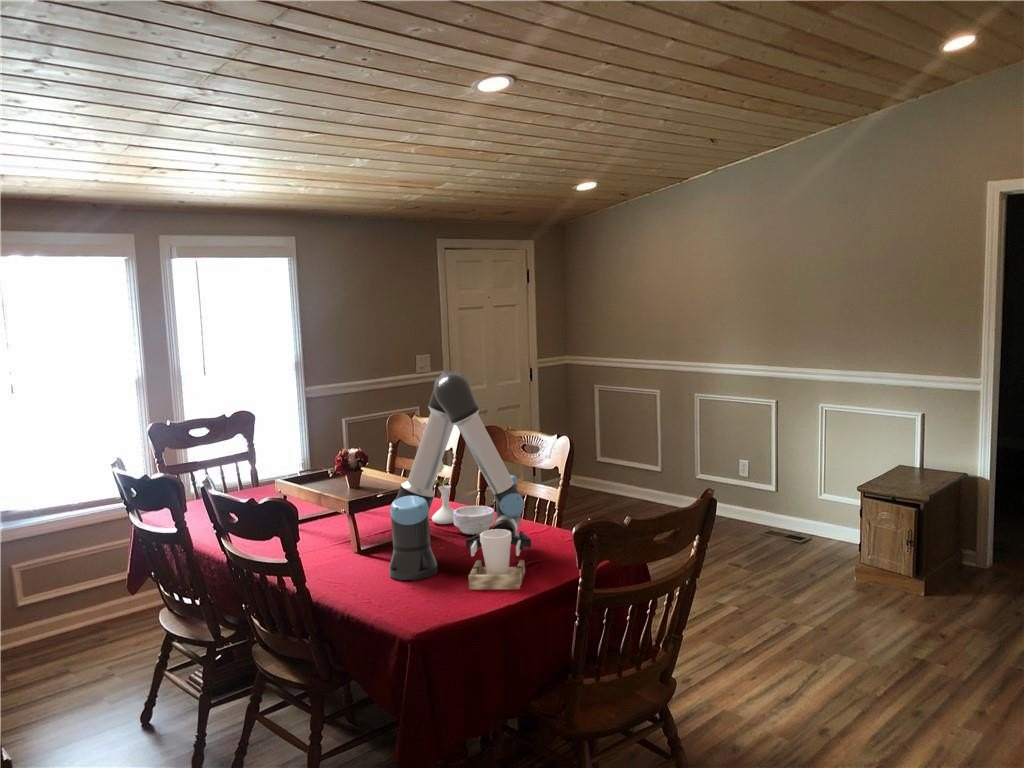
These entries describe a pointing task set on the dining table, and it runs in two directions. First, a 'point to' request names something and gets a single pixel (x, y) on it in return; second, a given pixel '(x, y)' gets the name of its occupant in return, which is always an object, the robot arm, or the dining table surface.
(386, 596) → the dining table surface
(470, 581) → the cradle
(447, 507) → the flower in vase
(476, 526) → the paper bowls
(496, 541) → the foam cup
